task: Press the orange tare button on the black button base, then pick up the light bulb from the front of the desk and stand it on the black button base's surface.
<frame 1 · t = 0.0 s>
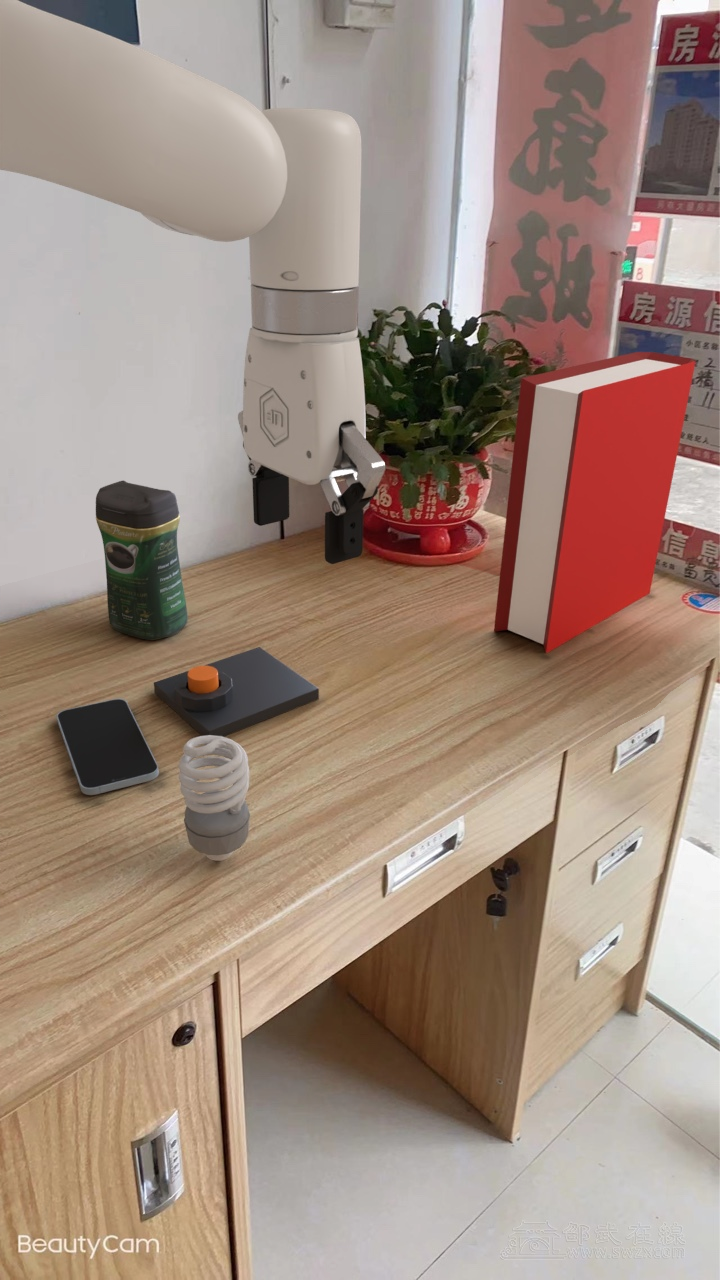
hand: (306, 539, 70), 26 cm above the table, tool pointing down, fingers open, 9 cm apart
book: (578, 611, 120), on the table
light bulb: (219, 860, 75), on the table
tare button: (203, 679, 94), point 4 cm above the table, slide at 0.2 cm
coffee jar: (149, 627, 113), on the table
smartphone: (106, 748, 89), on the table
black button base: (236, 696, 98), on the table
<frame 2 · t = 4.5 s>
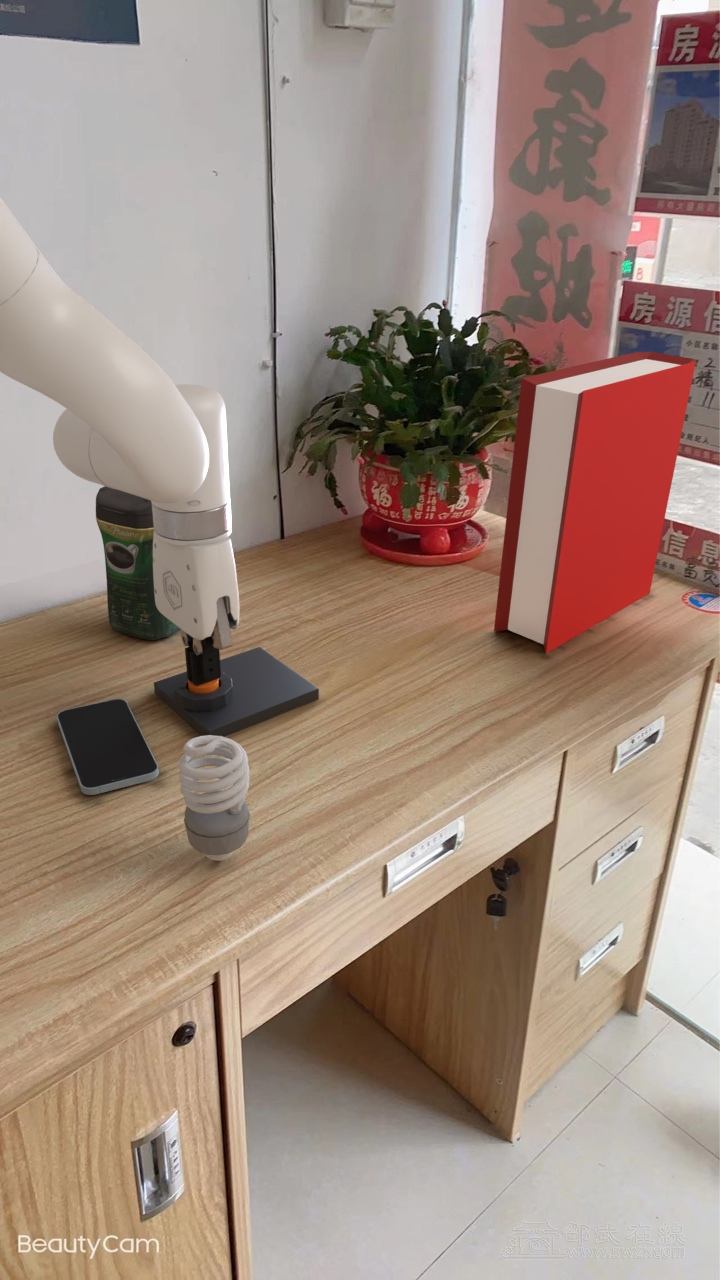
hand: (204, 678, 95), 4 cm above the table, tool pointing down, fingers closed
tare button: (203, 686, 95), point 3 cm above the table, slide at -0.7 cm, touching gripper
everything else where it was.
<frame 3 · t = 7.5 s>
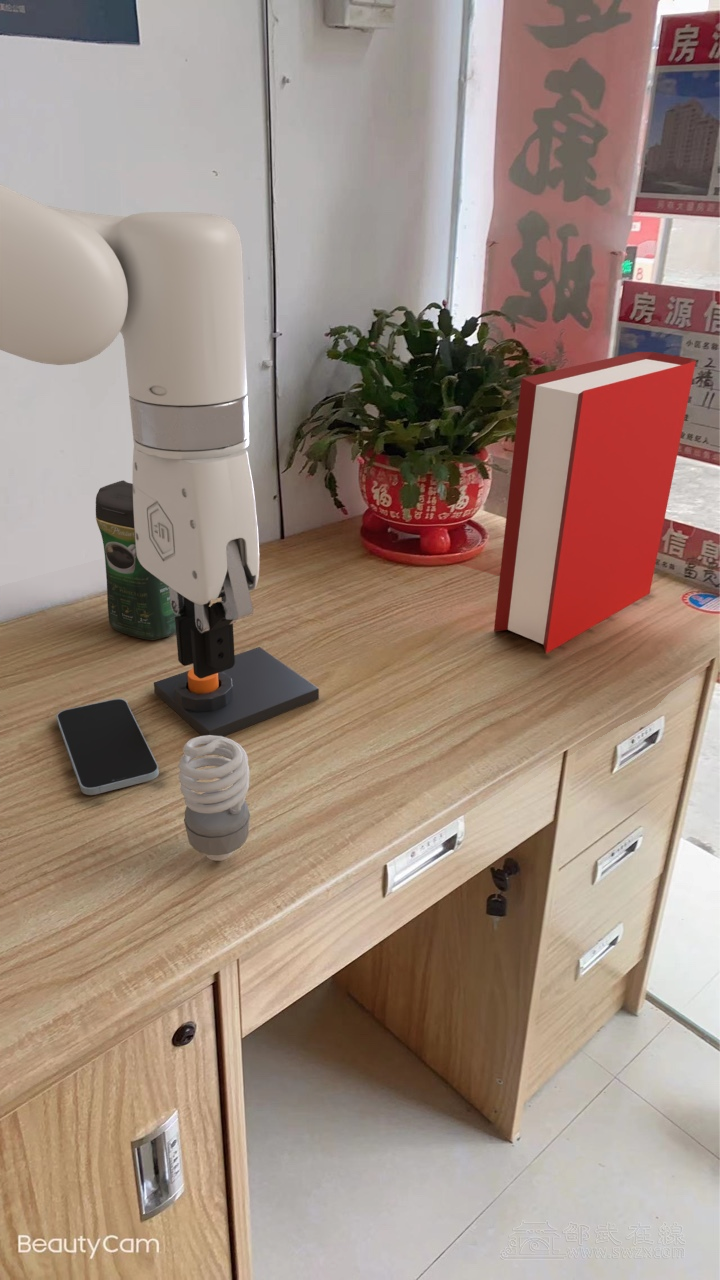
hand: (206, 664, 66), 19 cm above the table, tool pointing down, fingers closed
tare button: (203, 680, 94), point 4 cm above the table, slide at 0.1 cm
everything else where it was.
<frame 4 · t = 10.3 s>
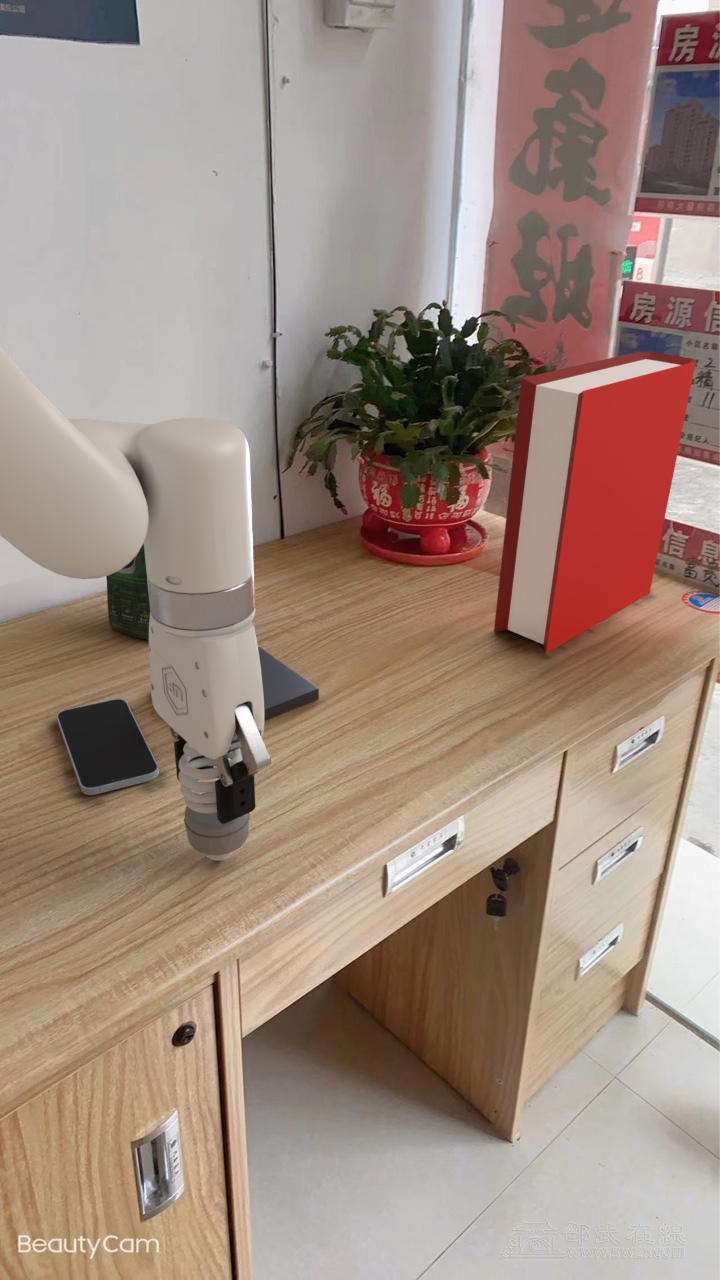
hand: (215, 793, 72), 7 cm above the table, tool pointing down, fingers closed on light bulb, 5 cm apart
light bulb: (219, 860, 75), on the table, touching gripper
everything else where it was.
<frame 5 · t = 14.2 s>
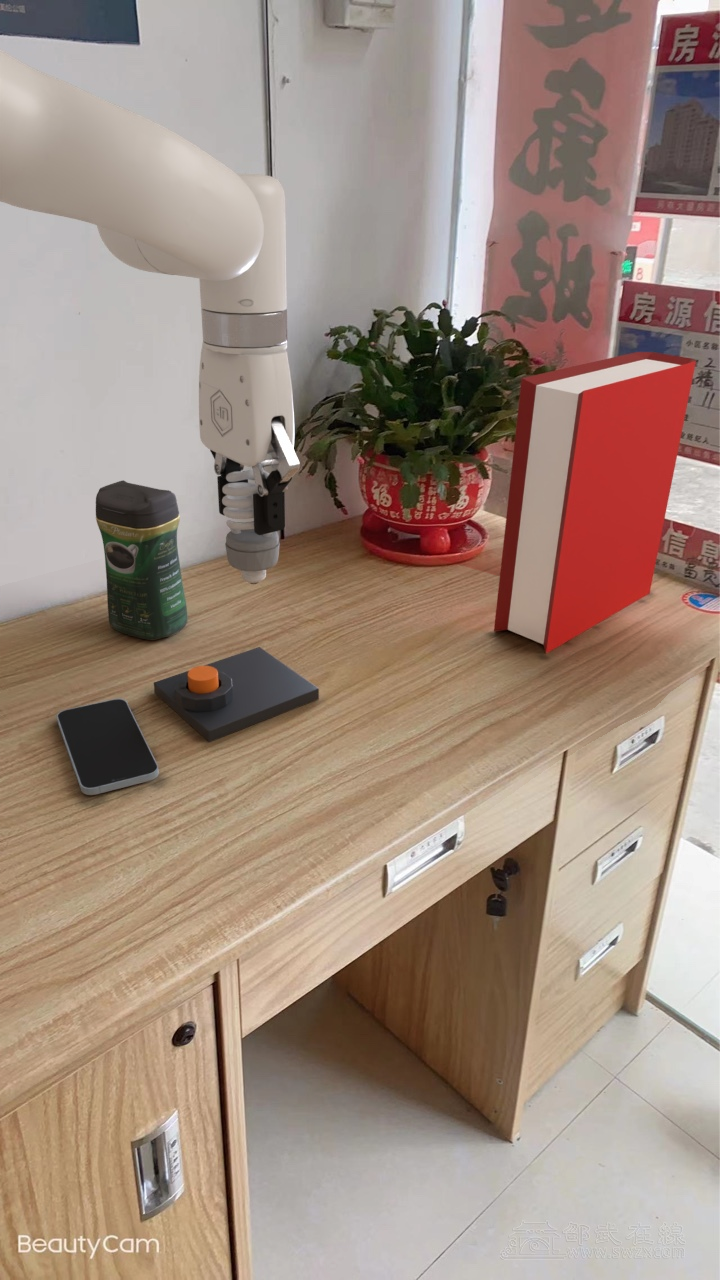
hand: (251, 520, 87), 21 cm above the table, tool pointing down, fingers closed on light bulb, 5 cm apart
light bulb: (254, 585, 90), point 14 cm above the table, touching gripper
everything else where it was.
when the fingers open (8 cm above the table, at t = 18.1 s): light bulb stays where it is, resting on black button base.
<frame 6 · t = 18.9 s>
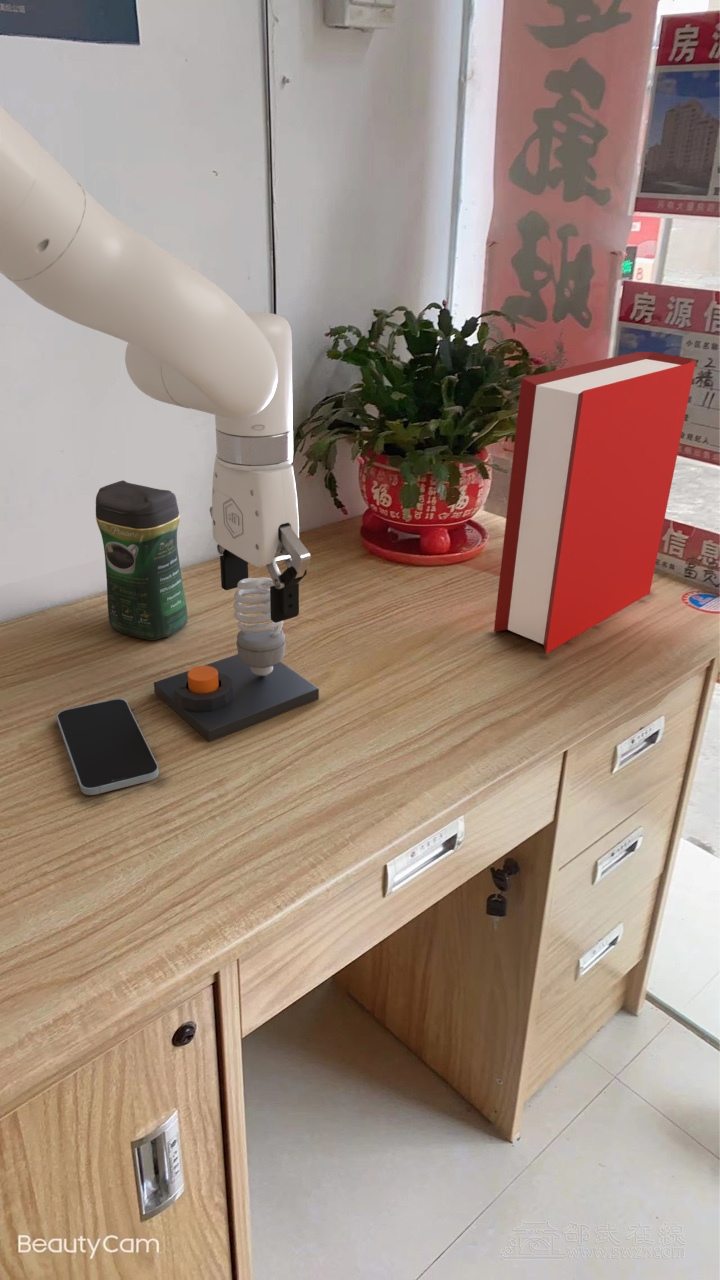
hand: (259, 602, 95), 11 cm above the table, tool pointing down, fingers open, 9 cm apart
light bulb: (262, 677, 100), point 1 cm above the table, touching black button base
everything else where it was.
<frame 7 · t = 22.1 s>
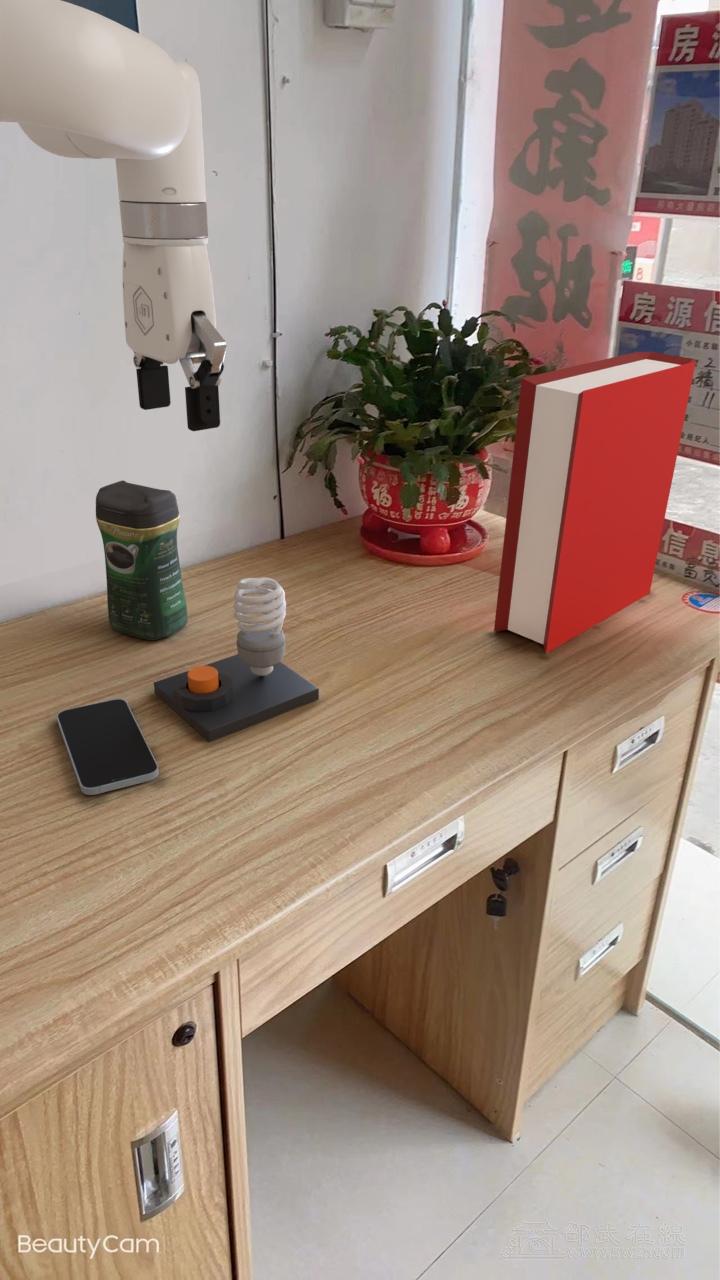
hand: (178, 417, 86), 30 cm above the table, tool pointing down, fingers open, 9 cm apart
nothing on the table moved.
at the end: tare button pushed in 0.9 cm at the most during the clip, back to where it started at the end; light bulb inside the target area on the black button base (0.4 cm from its centre), point 1.2 cm above the black button base's base; light bulb touching black button base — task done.
